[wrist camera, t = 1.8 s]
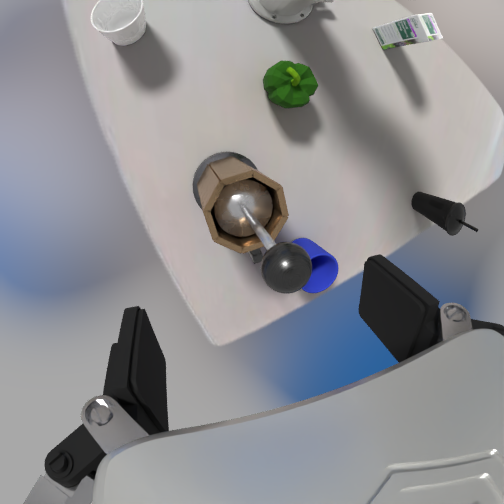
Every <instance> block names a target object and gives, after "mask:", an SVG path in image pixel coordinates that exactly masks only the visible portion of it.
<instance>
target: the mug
mask: <svg viewBox="0 0 504 504" xmlns="http://www.w3.org/2000/svg"><path fill="white" fill-rule="evenodd" d="M292 243H295V244H298V245H299V246H301V247H302V248H303V249H305V250H306V252H307V253H308V254H309V256H310V259H311V262H312V273H311V277H310V279H309V281H308V282H307V284H306V285H305V286H304V287H303V288H302V289H303V290H304V291H306V292H309V293H318V292H321V291H323V290H325V289H327V288H328V287H329V286H330V285H331V284H332V283H333V282H334V280H335V279H336V277H337V274H338V263H337V261H336V259H335V258H334V257H333V256H332V255H331V254H329V253H328V252H326V251H325V250H324V249H322V248H321V247H320V246H318V245H317V244H316V243H314V242H313V241H311V240H309V239H307V238H299V239H296V240H294V241H292Z"/></svg>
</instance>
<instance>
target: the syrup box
mask: <svg viewBox="0 0 504 504" xmlns="http://www.w3.org/2000/svg"><path fill="white" fill-rule="evenodd" d="M372 29H373V30H374V32H375V34H376V36H377V38H378V40H379V42H380V44H381V46H382V49H383V50H385V49H390V48H394V47H399V46H404V45H409V44H415V43H421V42H427V41H432V40H437V39H441V38H443V36H442V35H441V32H440V30H439V27H438V25H437V23H436V21H435V19H434V17H433V14H432V13H427V14H419V15H418V14H417V15H413V16H409V17H405V18H402V19H399V20H396V21H393V22H389V23H386V24H383V25H380V26H376V27H373V28H372Z"/></svg>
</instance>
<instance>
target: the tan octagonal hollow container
mask: <svg viewBox="0 0 504 504" xmlns="http://www.w3.org/2000/svg"><path fill="white" fill-rule="evenodd" d="M244 179H250V180H254V181H256V182H258V183H260V184H261V185H262V186H264V187H265V188H266V189H267V191H268V192H269V194H270V196H271V199H272V204H273V208H272V214H271V217H270V219H269V221H268V223H267V224H266V225H265V226H264V229H265V230H266V231H267V232H268V234H269V235H270V236H271V238H272V239H273V240H275V238H276V237H277V235H278V233H279V232H280V230H281V229H282V227H283V225H284V224H285V222H286V220H287V219H288V217H287V216H289V215H288V210H287V206H286V201H285V196H284V192H283V187H282V186H281V185H280V184H278V183H277V182H275V181H274V180H272V179H270V178H269V177H267V176H266V175H264V174H262V173H261V172H259V171H258V170H257V168H256V166H255V165H254V164H253V163H252V162H251V161H250V160H249V159H248V158H246V157H245V156H243V155H240V154H238V153H234V152H220V153H216V154H214V155H212V156H210V157H208V158H207V159H205V160H204V161H203V162H202V163H201V164H200V166H199V167H198V169H197V170H196V172H195V175H194V178H193V193H194V197H195V199H196V202H197V203H198V205H199V206H200V208H201V209H202V210H203V213H204V216H205V219H206V222H207V225H208V227H209V230H210V233H211V236H212V239H213V240H214V242H216V243H218V244H220V245H222V246H225V247H227V248H229V249H232V250H234V251H236V252H238V253H246V252H248V253H249V255H250V257H251V259H252V261H253V262H254V264H255V263H258V262H261V261H262V259H263V256H262V252H261V251H260V248H261V247H264V245H263V243H262V242H261V240H260V239H259V237H258V236H257V234H256V233H255V234H252V235H249V236H234V235H231V234H229V233H227V232H226V231H224V230H223V229H222V228H221V227H220V225H219V224H218V222H217V220H216V218H215V214H214V203H215V202H216V200H217V198H218V196H219V194H220V193H221V191H222V189H223V187H224V186H226V185H228V184H231V183H234V182H238V181H241V180H244Z"/></svg>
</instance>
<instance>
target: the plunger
mask: <svg viewBox="0 0 504 504" xmlns="http://www.w3.org/2000/svg"><path fill="white" fill-rule="evenodd" d="M272 208H273V204H272V199H271V196H270V194H269V192H268V191H267V189H266V188H265V187H264V186H262V185H261V184H260V183H258V182H256V181H254V180H250V179H244V180H241V181H238V182H234V183H231V184H228V185H226V186H224V187H223V189H222V191H221V193H220V194H219V196H218V198H217V200H216V202H215V203H214V214H215V218H216V220H217V222H218V224H219V225H220V227H221V228H222V229H223V230H224V231H226V232H227V233H229V234H231V235H234V236H249V235H252V234H255V233H256V234H257V236H258V237H259V239H260V240H261V242H262V243H263V245H264V246H265V248H266V249H267V252H266V253H265V255H264V257H263V259H262V262H261V273H262V277H263V279H264V281H265V282H266V284H267V285H268V286H269V287H270V288H271V289H273V290H275V291H277V292H280V293H293V292H296V291H298V290H300V289H301V288H303V287H304V286H305V285H306V284H307V282H308V281H309V279H310V277H311V273H312V262H311V259H310V256H309V254H308V253H307V252H306V250H305V249H303V248H302V247H301V246H299V245H298V244H295V243H292V242H282V243H278V244H276V243H275V241H274V240H273V239H272V238H271V236H270V235H269V234H268V232H267V231H266V230H265V229H264V226H265V225H266V224H267V223H268V221H269V219H270V217H271V214H272Z"/></svg>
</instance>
